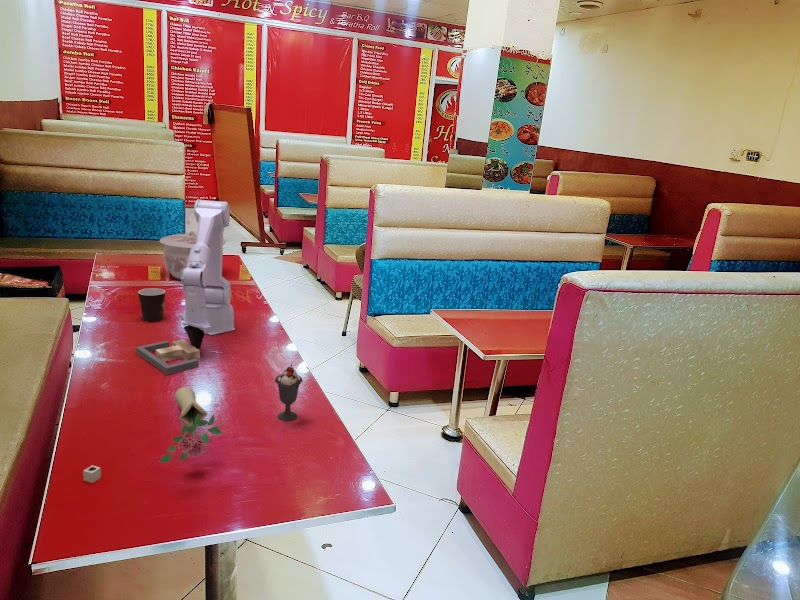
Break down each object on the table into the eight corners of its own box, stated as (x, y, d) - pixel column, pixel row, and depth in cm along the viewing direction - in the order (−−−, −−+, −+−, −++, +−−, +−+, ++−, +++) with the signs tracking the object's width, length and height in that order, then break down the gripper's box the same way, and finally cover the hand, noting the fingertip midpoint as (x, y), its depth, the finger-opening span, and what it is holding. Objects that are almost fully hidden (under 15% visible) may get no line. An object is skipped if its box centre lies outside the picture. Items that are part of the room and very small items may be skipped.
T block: (183, 348, 176) (183, 339, 176) (199, 360, 169) (199, 350, 168) (150, 354, 170) (150, 345, 169) (166, 367, 162) (166, 357, 161)
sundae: (288, 426, 137) (290, 369, 133) (268, 417, 140) (269, 361, 136) (306, 416, 142) (309, 361, 138) (286, 407, 146) (288, 353, 141)
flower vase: (200, 433, 145) (221, 483, 113) (149, 426, 139) (157, 476, 108) (212, 388, 145) (238, 426, 114) (162, 379, 140) (174, 416, 108)
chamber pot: (214, 288, 239) (214, 240, 233) (149, 282, 238) (147, 234, 232) (234, 272, 266) (234, 228, 260) (175, 267, 265) (174, 223, 259)
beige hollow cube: (92, 474, 113) (91, 463, 112) (101, 477, 112) (100, 466, 112) (83, 480, 111) (82, 469, 110) (92, 483, 110) (91, 472, 110)
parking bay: (167, 346, 176) (166, 340, 176) (198, 366, 165) (198, 360, 164) (136, 353, 170) (136, 347, 169) (166, 375, 158) (166, 368, 157)
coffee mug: (156, 324, 193) (155, 296, 190) (134, 321, 195) (132, 293, 192) (176, 314, 204) (175, 288, 201) (154, 311, 206) (153, 284, 203)
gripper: (170, 302, 171) (172, 344, 175) (195, 315, 162) (196, 359, 166) (192, 298, 176) (193, 339, 180) (217, 310, 167) (218, 353, 171)
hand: (196, 348), depth 173 cm, fingers closed
